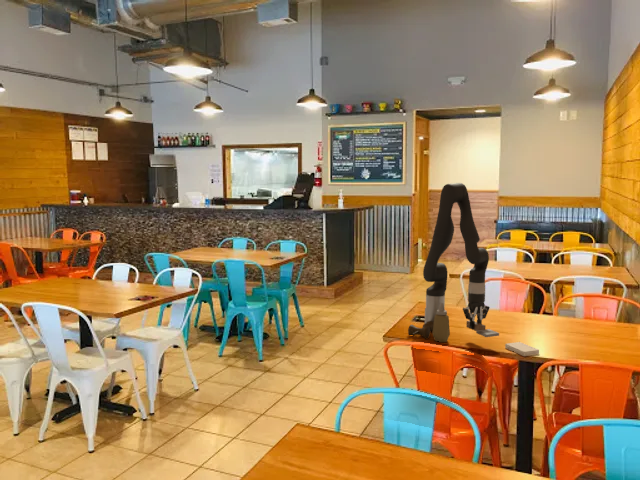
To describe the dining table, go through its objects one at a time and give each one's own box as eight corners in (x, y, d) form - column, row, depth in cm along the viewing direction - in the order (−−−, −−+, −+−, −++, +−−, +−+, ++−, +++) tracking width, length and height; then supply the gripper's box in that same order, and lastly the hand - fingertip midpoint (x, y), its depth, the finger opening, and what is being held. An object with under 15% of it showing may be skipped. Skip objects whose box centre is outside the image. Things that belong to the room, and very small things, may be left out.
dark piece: (462, 327, 253) (463, 321, 253) (475, 326, 256) (475, 319, 255) (486, 337, 237) (486, 330, 237) (499, 335, 240) (499, 329, 240)
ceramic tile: (505, 343, 242) (524, 351, 231) (519, 341, 245) (539, 349, 234) (505, 348, 242) (524, 357, 231) (519, 346, 245) (538, 354, 234)
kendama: (439, 333, 266) (422, 342, 250) (421, 330, 272) (403, 339, 256) (440, 321, 266) (422, 329, 250) (422, 318, 272) (403, 326, 255)
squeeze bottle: (428, 339, 255) (429, 301, 252) (443, 337, 257) (444, 300, 255) (438, 344, 247) (439, 305, 245) (453, 342, 250) (454, 304, 248)
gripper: (484, 288, 254) (482, 324, 256) (458, 291, 249) (457, 327, 251) (494, 291, 247) (493, 328, 249) (469, 294, 242) (467, 331, 244)
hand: (475, 327), depth 250 cm, fingers closed on dark piece, 3 cm apart
